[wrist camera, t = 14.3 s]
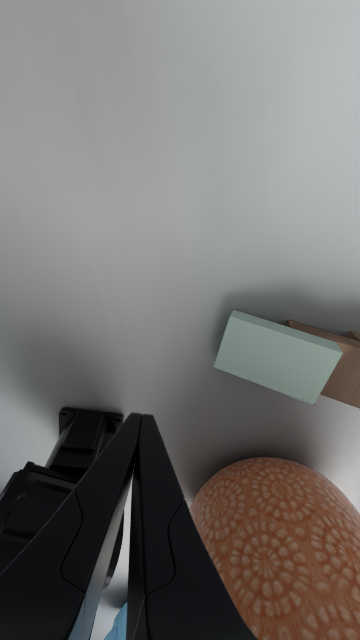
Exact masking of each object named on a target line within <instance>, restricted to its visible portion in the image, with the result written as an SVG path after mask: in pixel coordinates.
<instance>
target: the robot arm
mask: <svg viewBox="0 0 360 640" xmlns="http://www.w3.org/2000/svg"><path fill="white" fill-rule="evenodd" d="M64 412H65V413H64ZM117 418H119V419H117ZM141 418H142V419H141ZM123 419H124V416H123V415H122V414H118V413H109V412H101V411H92V410H84V409H75V408H66V407H64V408H62V409H61V410H60V412H59V439H58V441H57V443H56V445H55V447H54V449H53V451H52V453H51V455H50V457H49V459H48V461H47V463H46V465H45V467H42V466H39V465H36V464H34V463H33V462H30V461H28V462H27V464H26V465H25V467H24V469H23V470H21V469H20V471H18V472H14V473H13V475H12V477H11V478H10V480H9V482H8V483H7V485H6V486H5V488H4V490H3V491H2V493H1V494H0V640H90V637H91V633H92V628H93V624H94V620H95V615H96V611H97V607H98V604H99V600H100V596H101V593H102V590H103V589H105V588H107V586H108V585H109V583H110V581H111V579H112V576H113V574H114V571H115V568H116V565H117V562H118V558H119V554H120V550H121V545H122V539H123V525H124V507H125V503H126V499H127V496H128V492H129V488H130V484H131V480H132V475H133V480H132V500H131V525H130V549H129V573H128V598H127V622H126V640H258V639H257V638H256V636H255V635H254V634H253V633H252V631H251V630H250V629H249V627H248V626H247V624H246V623H245V621H244V620H243V618H242V617H241V615H240V613H239V611H238V610H237V608H236V606H235V604H234V602H233V600H232V599H231V597H230V595H229V593H228V591H227V589H226V587H225V585H224V583H223V581H222V579H221V577H220V575H219V573H218V571H217V569H216V567H215V565H214V563H213V561H212V559H211V557H210V555H209V553H208V551H207V549H206V547H205V545H204V543H203V541H202V538H201V536H200V534H199V532H198V530H197V528H196V525H195V523H194V520H193V518H192V516H191V513H190V511H189V508H188V505H187V503H186V500H184V499H185V498H184V495H183V492H182V490H181V487H180V484H179V482H178V479H177V476H176V474H175V471H174V469H173V466H172V463H171V461H170V458H169V455H168V453H167V450H166V447H165V445H164V442H163V439H162V437H161V434H160V432H159V429H158V426H157V424H156V421H155V418H154V416H153V415H150V414H143V415H142V414H141V413H131V414H130V415H129V416H128V417H127V419H126V420H125V421H124V423H123ZM135 457H136V458H135ZM134 463H135V464H134ZM133 470H134V471H133Z"/></svg>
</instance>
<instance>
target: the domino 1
mask: <svg viewBox="0 0 360 640" xmlns="http://www.w3.org/2000/svg"><path fill="white" fill-rule="evenodd" d="M342 354H343V353H342V351H341V349H340V347H339V346H338V344H337V342H334V341H331V340H327V339H324V338H321V337H318V336H315V335H312V334H309V333H305V332H302V331H299V330H296V329H293V328H290V327H287V326H283V325H280V324H277V323H274V322H271V321H268V320H265V319H262V318H258V317H255V316H252V315H249V314H246V313H243V312H240V311H236V310H233V311H232V313H231V315H230V317H229V320H228V323H227V327H226V330H225V333H224V336H223V339H222V342H221V345H220V348H219V351H218V355H217V358H216V361H215V364H214V367H215V368H217V369H220V370H223V371H225V372H228V373H230V374H233V375H236V376H238V377H241V378H244V379H246V380H249V381H251V382H254V383H257V384H259V385H262V386H264V387H267V388H270V389H272V390H275V391H277V392H280V393H283V394H285V395H288V396H290V397H293V398H296V399H298V400H301V401H303V402H306V403H309V404H311V405H314V404H315V402H316V400H317V398H318V397H319V395H320V393H321V391H322V390H323V388H324V386H325V384H326V382H327V381H328V379H329V377H330V375H331V373H332V372H333V370H334V368H335V366H336V364H337V363H338V361H339V359H340V357H341V356H342Z"/></svg>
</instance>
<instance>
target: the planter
mask: <svg viewBox="0 0 360 640" xmlns="http://www.w3.org/2000/svg"><path fill="white" fill-rule="evenodd" d="M189 511H190V513H191V516H192V518H193V520H194V523H195V525H196V528H197V530H198V532H199V534H200V536H201V538H202V541H203V543H204V545H205V547H206V549H207V551H208V553H209V555H210V557H211V559H212V561H213V563H214V565H215V567H216V569H217V571H218V573H219V575H220V577H221V579H222V581H223V583H224V585H225V587H226V589H227V591H228V593H229V595H230V597H231V599H232V600H233V602H234V604H235V606H236V608H237V610H238V611H239V613H240V615H241V617H242V618H243V620H244V621H245V623H246V624H247V626H248V627H249V629H250V630H251V631H252V633H253V634H254V635H255V636H256V638H257V639H258V640H360V513H359V512H358V511H357V510H356V508H355V507H354V506H353V505H352V503H351V502H350V501H349V500H348V499H347V497H346V496H345V495H344V494H343V493H342V492H341V491H340V490H339V489H338V488H337V487H336V486H335V485H334V484H333V483H332V482H331V481H330V480H328V479H327V478H326V477H324V476H323V475H322V474H320V473H319V472H317V471H315V470H313V469H311V468H309V467H307V466H305V465H303V464H300V463H297V462H294V461H291V460H287V459H282V458H276V457H255V458H249V459H244V460H241V461H238V462H235V463H233V464H230V465H228V466H226V467H225V468H223V469H221V470H220V471H218V472H217V473H216V474H214V475H213V476H212V477H211V478H210V479H209V480H208V481H207V482H206V483H205V484H204V485H203V486H202V487H201V489H200V490H199V491H198V493H197V495H196V496H195V498H194V500H193V502H192V504H191V506H190V508H189Z"/></svg>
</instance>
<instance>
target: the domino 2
mask: <svg viewBox="0 0 360 640" xmlns="http://www.w3.org/2000/svg"><path fill="white" fill-rule="evenodd" d="M286 326H287V327H290V328H293V329H296V330H299V331H302V332H305V333H309V334H312V335H315V336H318V337H321V338H324V339H327V340H331V341H334V342H337V344H338V346H339V347H340V349H341V351H342V353H343V354H342V356H341V357H340V359H339V361H338V363H337V364H336V366H335V368H334V370H333V372H332V373H331V375H330V377H329V379H328V381H327V382H326V384H325V386H324V388H323V390H322V391H321V393H320V394H321V395H324V396H327V397H330V398H332V399H335V400H338V401H341V402H343V403H346V404H349V405H352V406H355V407H357V408H360V341H356V340H353V339H350V338H347V337H343V336H340V335H337V334H333V333H330V332H327V331H324V330H320V329H317V328H314V327H310V326H307V325H304V324H301V323H297V322H294V321H291V320H288V322H287V325H286Z"/></svg>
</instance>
